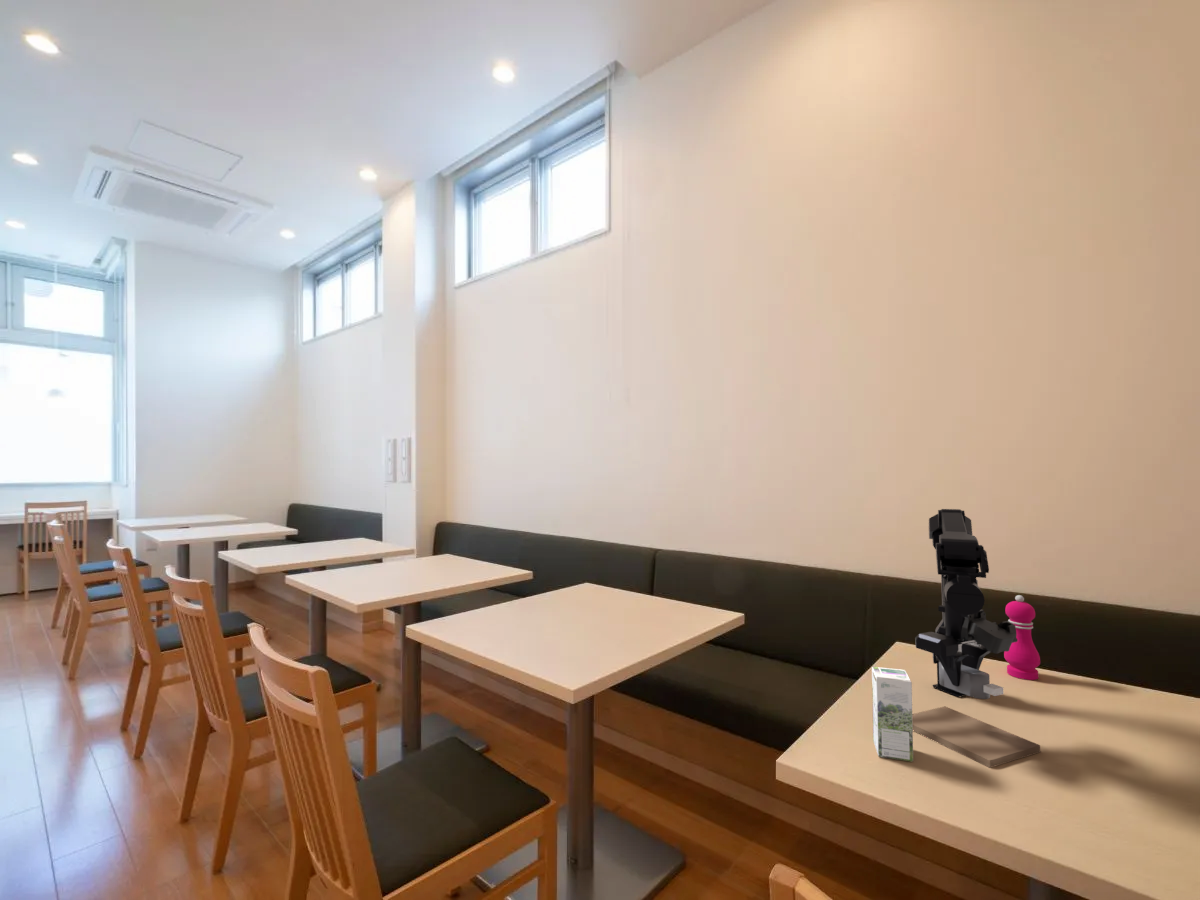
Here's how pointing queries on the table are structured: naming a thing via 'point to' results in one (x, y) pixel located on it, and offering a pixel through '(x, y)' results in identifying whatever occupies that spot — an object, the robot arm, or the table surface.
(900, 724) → the syrup box
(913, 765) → the table surface
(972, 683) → the charcoal usb stick
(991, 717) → the table surface
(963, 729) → the walnut board
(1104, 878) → the table surface
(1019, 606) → the pepper mill
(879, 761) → the table surface
